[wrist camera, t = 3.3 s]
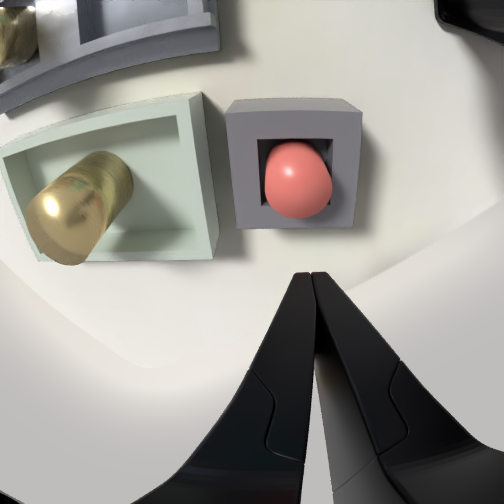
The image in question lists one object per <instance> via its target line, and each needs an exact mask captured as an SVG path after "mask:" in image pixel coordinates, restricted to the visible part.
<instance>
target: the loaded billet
mask: <svg viewBox="0 0 504 504" xmlns="http://www.w3.org/2000/svg"><path fill="white" fill-rule="evenodd" d="M37 46H38V35H37V22H36V9H35V8H34V7H32V6H12V7H0V71H1V70H4V69H8V68H11V67H15V66H19V65H21V64H23V63H25V62H26V61H27V60H28V59H29V58H30V57H31V56H32V55H33V53H34V51H35V50H36V48H37Z"/></svg>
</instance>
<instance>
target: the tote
mask: <svg viewBox="0 0 504 504" xmlns="http://www.w3.org/2000/svg"><path fill="white" fill-rule="evenodd" d="M99 150H101V151H108V152H111V153H113V154H115V155H117V156H118V157H120V158H121V159H122V160H123V161H124V162H125V163H126V165H127V166H128V168H129V169H130V172H131V174H132V177H133V184H134V188H133V194H132V196H131V199H130V200H129V202H128V203H127V204H126V205H125V207H124V208H123V209H122V211H121V212H120V213H119V214H118V216H117V217H116V218H115V220H114V221H113V222H112V224H111V225H110V226H109V228H108V229H107V230H106V232H105V233H104V235H103V236H102V237H101V239H100V240H99V241H98V243H97V244H96V246H95V247H94V248H93V250H92V251H91V253H90V254H89V256H88V257H87V259H86V260H85V261H134V260H205V259H213V257H214V253H215V249H216V245H217V241H218V237H219V233H220V230H219V223H218V216H217V209H216V202H215V195H214V187H213V180H212V172H211V165H210V157H209V149H208V141H207V133H206V125H205V117H204V108H203V99H202V92H194V93H186V94H179V95H173V96H166V97H160V98H155V99H149V100H144V101H139V102H134V103H129V104H125V105H120V106H116V107H112V108H107V109H103V110H99V111H96V112H92V113H88V114H84V115H81V116H77V117H74V118H71V119H67V120H64V121H61V122H58V123H55V124H52V125H49V126H46V127H43V128H40V129H37V130H34V131H32V132H29V133H26V134H24V135H21V136H19V137H17V138H15V139H14V140H12V141H10V142H8V143H7V144H5V145H3V146H2V147H0V170H1V174H2V177H3V180H4V182H5V185H6V188H7V191H8V194H9V196H10V199H11V202H12V204H13V207H14V209H15V212H16V214H17V217H18V219H19V221H20V224H21V226H22V228H23V231H24V233H25V235H26V237H27V240H28V242H29V244H30V246H31V248H32V250H33V252H34V254H35V256H36V258H37V260H38V261H54V260H52V259H50V258H49V257H47V256H46V255H45V254H44V253H43V252H42V251H41V250H40V249H39V248H38V247H37V246H36V244H35V243H34V241H33V240H32V238H31V236H30V234H29V231H28V228H27V225H26V209H27V206H28V204H29V202H30V201H31V200H32V199H33V198H34V197H35V196H36V195H37V194H38V193H40V192H41V191H42V190H43V189H44V188H45V187H47V186H48V185H49V184H50V183H51V182H53V181H54V180H55V179H56V178H58V177H59V176H60V175H61V174H63V173H64V172H65V171H66V170H68V169H69V168H70V167H72V166H73V165H74V164H76V163H77V162H78V161H80V160H81V159H82V158H84V157H85V156H86V155H88V154H89V153H91V152H94V151H99Z"/></svg>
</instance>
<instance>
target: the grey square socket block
mask: <svg viewBox="0 0 504 504" xmlns="http://www.w3.org/2000/svg"><path fill="white" fill-rule="evenodd" d="M225 119H226V130H227V140H228V150H229V159H230V169H231V179H232V188H233V198H234V207H235V216H236V225H237V229H271V228H327V227H353V221H354V212H355V204H356V195H357V185H358V174H359V162H360V149H361V132H362V112H361V111H360V110H358V109H357V108H355V107H354V106H352V105H351V104H350V103H348V102H347V101H345V100H344V99H332V98H265V99H245V100H235V101H234V102H233V103H232V104H231V106H230V107H229V109H228V110H227V111H226V113H225ZM287 138H302V139H305V140H307V141H309V142H310V143H312V144H313V145H314V146H315V147H316V148H317V150H318V151H319V153H320V155H321V157H322V159H323V162H324V164H325V166H326V168H327V171H328V173H329V175H330V177H331V181H332V194H331V198H330V200H329V202H328V203H327V205H326V206H325V207H324V208H323V209H322V210H321V211H320V212H318V213H317V214H315V215H313V216H310V217H307V218H301V219H295V218H289V217H286V216H283V215H281V214H279V213H278V212H277V211H275V210H274V209H273V208H272V207H271V205H270V204H269V202H268V200H267V198H266V194H265V174H266V158H267V155H268V153H269V151H270V149H271V148H272V147H273V146H274V145H275V144H276V143H278V142H279V141H281V140H283V139H287Z"/></svg>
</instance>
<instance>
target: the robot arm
mask: <svg viewBox="0 0 504 504" xmlns="http://www.w3.org/2000/svg"><path fill="white" fill-rule="evenodd" d="M434 9H435V17H436V18H437V20H438V21H439V22H441V23H444V24H447V25H450V26H453V27H456V28H459V29H462V30H465V31H468V32H471V33H474V34H476V35H479V36H482V37H484V38H487V39H489V40H491V41H494V42H496V43H499V44H501V45H503V46H504V0H434ZM442 13H444V14H445V19H444V18H443V17H442V15H441V14H442ZM249 369H250V370H248V371H247V373H246V375H245V377H244V379H243V381H242V382H241V384H240V386H239V388H238V390H237V391H236V393H235V395H234V397H233V398H232V400H231V402H230V403H229V405H228V406H227V407H226V409H225V410H224V412H223V413H222V415H221V416H220V418H219V419H218V421H217V422H216V423H215V425H214V426H213V427H212V429H211V430H210V431H209V433H208V434H207V435H206V436H205V438H204V439H203V440H202V442H201V443H200V444H199V446H198V447H197V448H196V449H195V451H194V452H193V453H192V454H191V456H190V457H189V458H188V460H187V461H186V462H185V463H184V464H183V465H182V467H180V468H179V470H178V471H177V472H176V473H175V474H173V475H172V476H171V477H170V478H169V479H168V480H167V481H165V482H164V483H163V484H161V485H159V486H158V487H156V488H155V489H153V490H152V491H150V492H149V493H147V494H146V495H144V496H143V497H141V498H139V499H138V500H136V501H134V502H133V503H131V504H300V502H301V492H302V482H303V475H304V464H305V458H306V450H307V441H308V432H309V423H310V412H311V400H312V389H313V375H314V370H315V376H316V381H317V388H318V394H319V400H320V406H321V412H322V419H323V426H324V433H325V440H326V446H327V453H328V461H329V468H330V476H331V484H332V491H333V492H334V493H333V501H334V504H504V452H502V451H499V450H496V449H493V448H490V447H488V446H486V445H484V444H482V443H481V442H480V441H478V440H477V439H475V438H474V437H473V436H472V435H471V434H470V433H469V432H468V431H467V430H466V429H465V428H464V427H463V426H462V425H461V424H460V423H459V422H458V421H457V420H456V419H455V418H454V417H453V416H452V415H451V414H450V413H449V412H448V411H447V410H446V409H445V408H444V407H443V406H442V405H441V404H440V403H439V402H438V401H437V400H436V399H435V398H434V397H433V396H432V395H431V394H430V393H429V391H428V390H427V389H426V388H425V387H424V386H423V385H422V384H421V383H420V382H419V380H418V379H417V378H416V377H415V376H414V374H413V373H412V372H411V371H410V370H409V368H408V367H407V366H406V365H405V364H404V362H403V361H400V358H399V356H398V355H397V354H396V353H395V352H394V350H393V349H392V348H391V347H390V345H389V344H388V343H387V342H386V341H385V339H384V338H383V337H382V336H381V335H380V333H379V332H378V331H377V330H376V329H375V327H374V326H373V325H372V324H371V323H370V322H369V320H368V319H367V318H366V317H365V316H364V315H363V313H362V312H361V311H360V310H359V309H358V308H357V306H356V305H355V304H354V303H353V302H352V301H351V299H350V298H349V297H348V296H347V295H346V294H345V292H344V291H343V290H342V289H341V288H340V287H339V286H338V284H337V283H336V282H335V281H334V280H333V279H332V278H331V276H330V275H329V274H328V273H326V272H312V273H311V274H310V273H309V272H299V273H295V274H294V275H293V278H292V280H291V282H290V284H289V286H288V288H287V291H286V293H285V295H284V297H283V299H282V301H281V303H280V306H279V308H278V310H277V312H276V314H275V316H274V318H273V320H272V322H271V324H270V327H269V329H268V331H267V333H266V335H265V337H264V339H263V341H262V343H261V345H260V347H259V349H258V351H257V353H256V355H255V357H254V359H253V361H252V363H251V365H250V367H249ZM0 504H24V503H22V502H21V501H19V500H17V499H15V498H13V497H11V496H9V495H8V494H6V493H4V492H2V491H0Z"/></svg>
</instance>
